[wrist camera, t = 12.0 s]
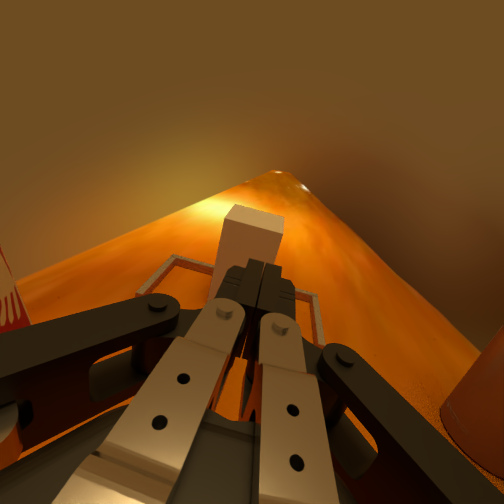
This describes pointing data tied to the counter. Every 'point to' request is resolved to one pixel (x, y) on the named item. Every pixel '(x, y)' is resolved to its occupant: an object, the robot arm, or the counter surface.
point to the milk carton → (10, 300)
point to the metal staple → (209, 269)
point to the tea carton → (246, 241)
